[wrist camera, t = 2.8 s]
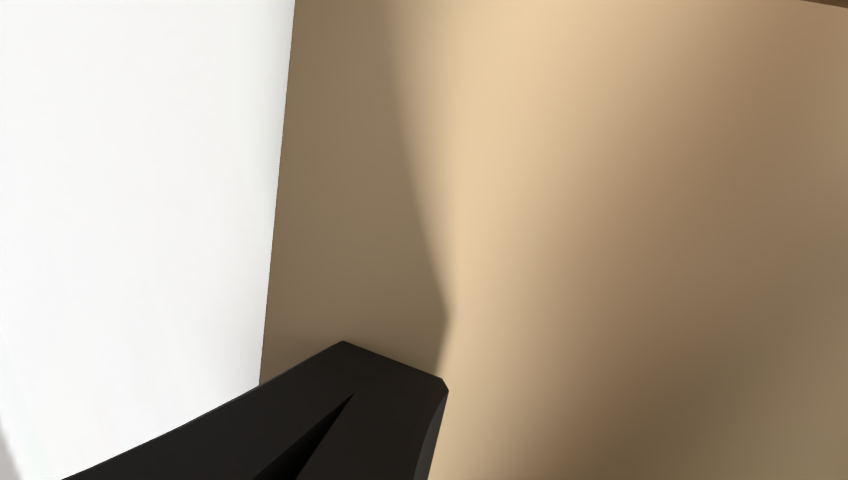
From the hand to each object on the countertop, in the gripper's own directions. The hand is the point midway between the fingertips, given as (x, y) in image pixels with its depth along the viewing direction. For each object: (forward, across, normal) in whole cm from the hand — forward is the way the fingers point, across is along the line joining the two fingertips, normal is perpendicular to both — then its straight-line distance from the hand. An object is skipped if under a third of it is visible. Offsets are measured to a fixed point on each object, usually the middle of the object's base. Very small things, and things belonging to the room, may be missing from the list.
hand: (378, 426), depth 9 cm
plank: (+3, -2, 0) cm, 4 cm away
